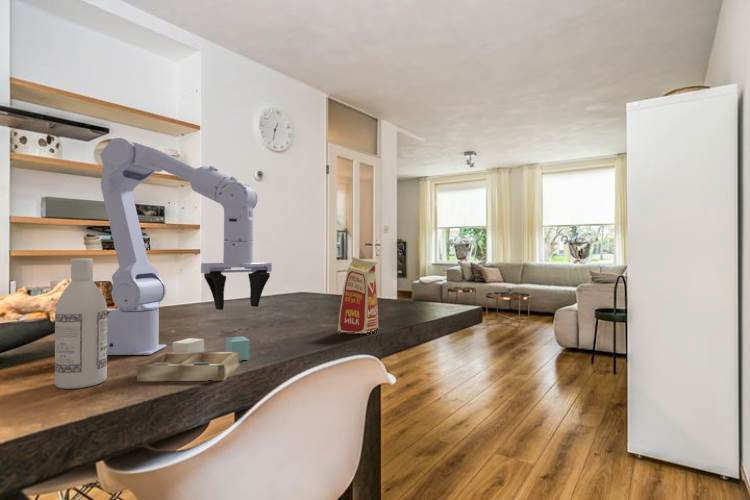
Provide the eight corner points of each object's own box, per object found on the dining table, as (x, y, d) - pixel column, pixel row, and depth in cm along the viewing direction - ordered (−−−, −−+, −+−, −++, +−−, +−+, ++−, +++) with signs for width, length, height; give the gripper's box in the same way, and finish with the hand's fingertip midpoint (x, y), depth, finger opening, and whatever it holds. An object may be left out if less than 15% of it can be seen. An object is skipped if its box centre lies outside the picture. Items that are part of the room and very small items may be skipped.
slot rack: (136, 381, 72) (137, 364, 72) (162, 366, 81) (162, 350, 81) (224, 380, 72) (224, 363, 72) (239, 365, 82) (239, 350, 82)
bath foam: (98, 374, 75) (98, 258, 75) (113, 382, 71) (114, 258, 71) (49, 383, 70) (49, 258, 70) (62, 393, 66) (63, 259, 66)
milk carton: (337, 333, 114) (337, 256, 114) (352, 327, 123) (352, 256, 123) (369, 335, 111) (370, 256, 111) (382, 329, 120) (383, 256, 120)
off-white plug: (187, 365, 82) (187, 343, 82) (172, 363, 83) (172, 342, 83) (207, 358, 88) (208, 338, 88) (193, 356, 89) (193, 336, 89)
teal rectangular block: (249, 360, 86) (249, 340, 86) (231, 362, 84) (231, 342, 84) (241, 354, 91) (241, 335, 91) (224, 356, 89) (224, 337, 89)
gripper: (211, 240, 82) (210, 313, 82) (279, 242, 92) (278, 306, 92) (197, 240, 88) (196, 309, 88) (262, 242, 98) (261, 303, 98)
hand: (237, 307), depth 90 cm, fingers open, 7 cm apart
